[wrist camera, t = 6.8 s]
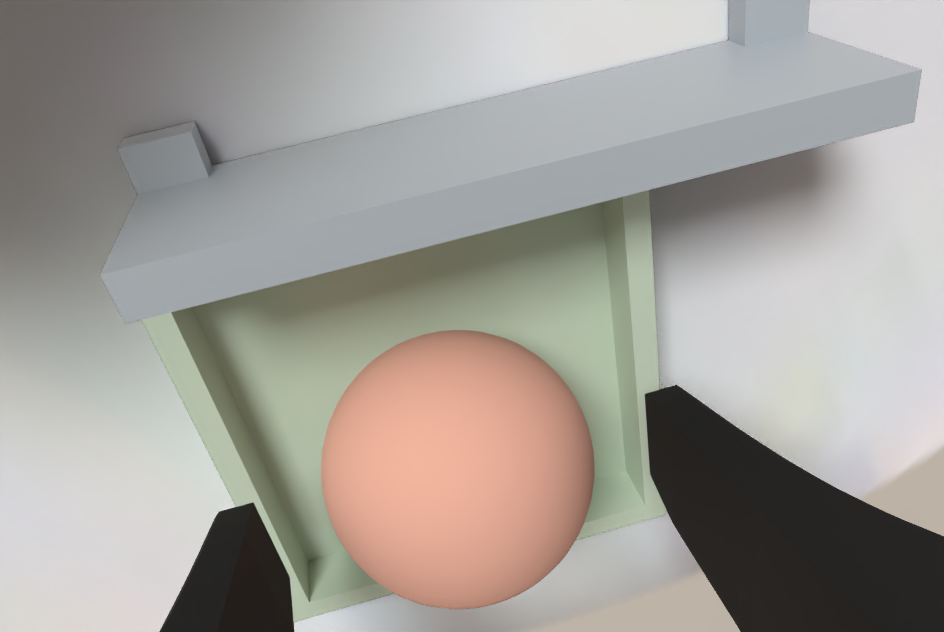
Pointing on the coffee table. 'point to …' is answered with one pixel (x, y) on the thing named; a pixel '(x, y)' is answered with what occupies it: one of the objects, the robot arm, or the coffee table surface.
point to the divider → (489, 161)
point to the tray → (405, 317)
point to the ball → (457, 469)
